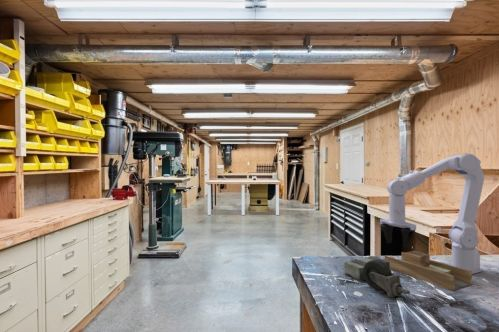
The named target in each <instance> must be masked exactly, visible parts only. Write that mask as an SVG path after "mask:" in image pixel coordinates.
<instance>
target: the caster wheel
mask: <svg viewBox="0 0 499 332" xmlns="http://www.w3.org/2000/svg"><path fill="white" fill-rule="evenodd" d="M363 274H364V278H365V280H364V281H366V284H367V285H368V286H369V287H370V288H371V289H373V290H375V291H386V296H387V297H389V298H394V297H396V296H397V297H400V296H401V295H403V294H404V295H405V294H406V295H408V296H409V295H410V290H408V289H406V288H405V289H404V287H403V285H402V283H401V279H400V277H401V276H400V275H399V274H396V273H393V272H392V270H391V269H389V267H388V266H387V265H386V264H385V263H384V262H382V261H380V260H372V261H369V262H367V263H366V264H365V266H364V270H363Z"/></svg>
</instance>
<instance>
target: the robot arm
mask: <svg viewBox="0 0 499 332" xmlns="http://www.w3.org/2000/svg"><path fill="white" fill-rule="evenodd" d="M481 162H482V161H481V160H480V159H479V158H478V157H477V156H476V155H475V154H472V153H463V154H453V155H451V156H448V157H445V158H443V159H442V160H439V161H438V162H436V163H434V164H432V165H430V166H428V167H426V168H425V169H423V170H421V171H420V170H409V172H408V173H407V174H405V175H403V176H402V177H401V176H399V177H397V180H396V179H395V180H391V181H389V182H388V184H387V187H386V189H387V192H388V193H389V194H388V202H389V203H388V210H389V211H388V213H389V214H388V219H386V218H380V220H379V224H380V229H381V230H382V232H383V235H384V238H385V242H386V244H392V243H393V232H394V231H393V230H394V227H395V228H396V227H397V228H401V229H400V232H401V235H402V236H401V237H402V247H403V248H404V249H405V248H406V249H407V248H409V246H410V242H411V240H412V238H413V236H414V234H415V232H416V230H417V224H415V223H410V222H407V221H406V194H407V193H408V191H411V190H413V189H415V188H417V187H419V186H421V185H424V184H425V182H426V179H428V178H430V177H432V176H434V175H437V174H439V173H441V172H444V171H446V170H452V171H454V172H456V173H458V174H459V175H461V177H462V178H463V179H464V180H465V182H464V187H463V193H462V197H461V203H460V206H459V213H458V215H457V217H458V218H457V220H455V221H454V223H453V225H452V228H450V230H449V231H448V238H449V239H450V241H452V242H451V266H455V267H459V268H462V269H466V270H469V271H472V275H474V274H477V273H480V272H483V271H484V270H483V269H481V254H480V251H479V249H478V248H477V246H478V244H480V243H479V242H480V239H479V236H478V232H479V229H478V227H477V226H476V221H477V215H478V211H479V210H478V209H479V205H480V200H481V196H482V192H483V191H482V190H483V186H484V182H485V175H484V172H483V169H482V166H481Z"/></svg>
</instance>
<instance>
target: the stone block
mask: <svg viewBox="0 0 499 332" xmlns="http://www.w3.org/2000/svg"><path fill="white" fill-rule="evenodd" d="M372 260H380V261H382V262H384V263H385V264H386V265H387V266H388V267H389V269H390V262H389V261H386V260H385V259H383V258H379V257H376V256H368V257H364V258H359V259H357V258H355V259H353V260H349V261H345V262H344V265H343V269H344V273H345V275H347V276H349V277H351V278H353V279H355V280H356V281H358V282H362V281H366V280H365V278H364V274H363V270H364V266H365V264H366V263H367V262H369V261H372ZM390 270H391V269H390Z"/></svg>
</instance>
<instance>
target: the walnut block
mask: <svg viewBox="0 0 499 332" xmlns="http://www.w3.org/2000/svg"><path fill="white" fill-rule="evenodd" d="M430 257H431V255H430V254H428V253H424V252H421V251H416V250H412V251H407V252H404V261H406V262H409V263H413V264H416V265H419V266H423V267H427V266H430V260H431V259H430Z"/></svg>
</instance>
